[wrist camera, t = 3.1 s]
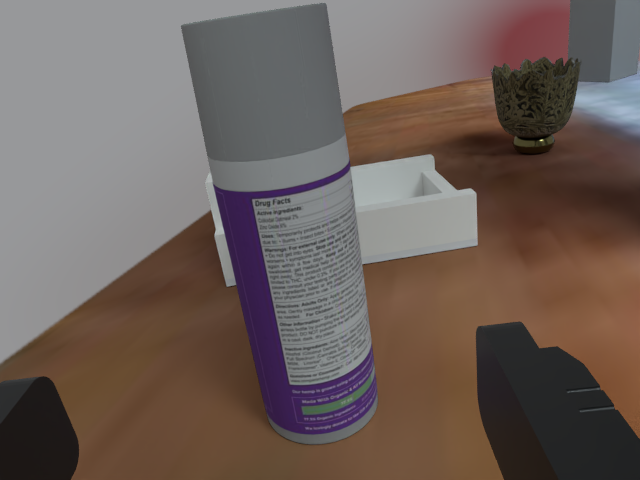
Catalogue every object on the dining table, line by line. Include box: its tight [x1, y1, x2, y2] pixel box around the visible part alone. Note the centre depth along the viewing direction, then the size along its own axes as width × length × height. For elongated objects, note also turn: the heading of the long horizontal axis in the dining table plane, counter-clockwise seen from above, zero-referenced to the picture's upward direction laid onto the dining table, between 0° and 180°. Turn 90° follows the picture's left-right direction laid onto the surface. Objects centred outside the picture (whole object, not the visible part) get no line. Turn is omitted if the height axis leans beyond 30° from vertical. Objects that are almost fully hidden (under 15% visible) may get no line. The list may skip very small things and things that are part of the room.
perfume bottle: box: [568, 0, 640, 82], centre depth 75 cm, size 7×7×18 cm
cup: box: [491, 57, 582, 154], centre depth 48 cm, size 8×7×8 cm
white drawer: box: [205, 154, 478, 287], centre depth 36 cm, size 16×10×6 cm, turn 95°
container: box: [181, 3, 378, 444], centre depth 19 cm, size 5×5×15 cm
